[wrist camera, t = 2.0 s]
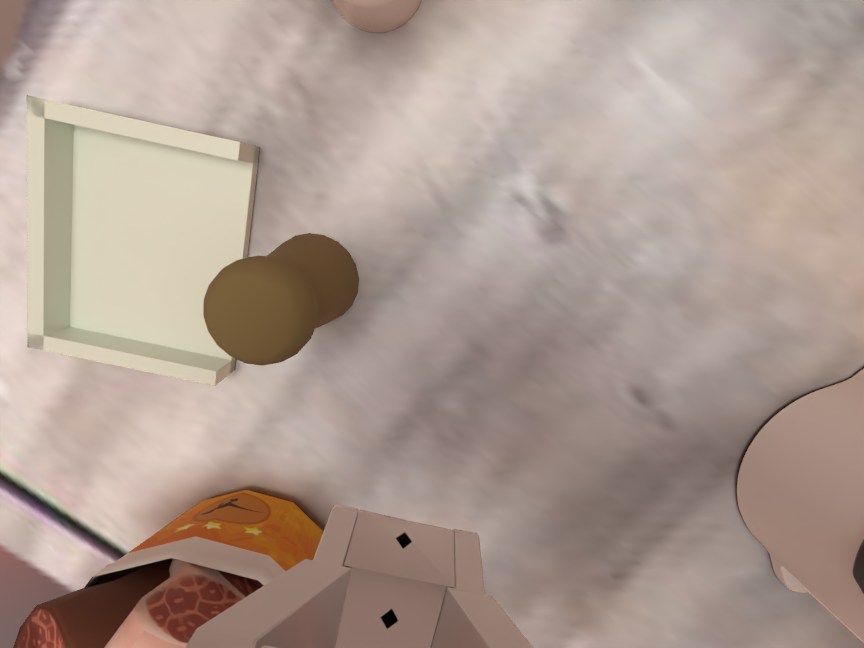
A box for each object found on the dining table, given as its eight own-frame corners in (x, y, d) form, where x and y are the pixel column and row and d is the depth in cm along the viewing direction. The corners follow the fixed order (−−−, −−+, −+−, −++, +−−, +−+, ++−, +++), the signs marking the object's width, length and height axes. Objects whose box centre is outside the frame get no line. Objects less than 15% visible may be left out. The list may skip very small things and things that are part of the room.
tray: (259, 147, 30) (239, 142, 27) (234, 369, 34) (214, 385, 31) (67, 105, 30) (26, 95, 27) (63, 334, 33) (27, 347, 31)
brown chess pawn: (278, 221, 31) (192, 233, 20) (368, 248, 31) (329, 274, 21) (260, 308, 33) (170, 362, 22) (346, 334, 33) (299, 399, 22)
